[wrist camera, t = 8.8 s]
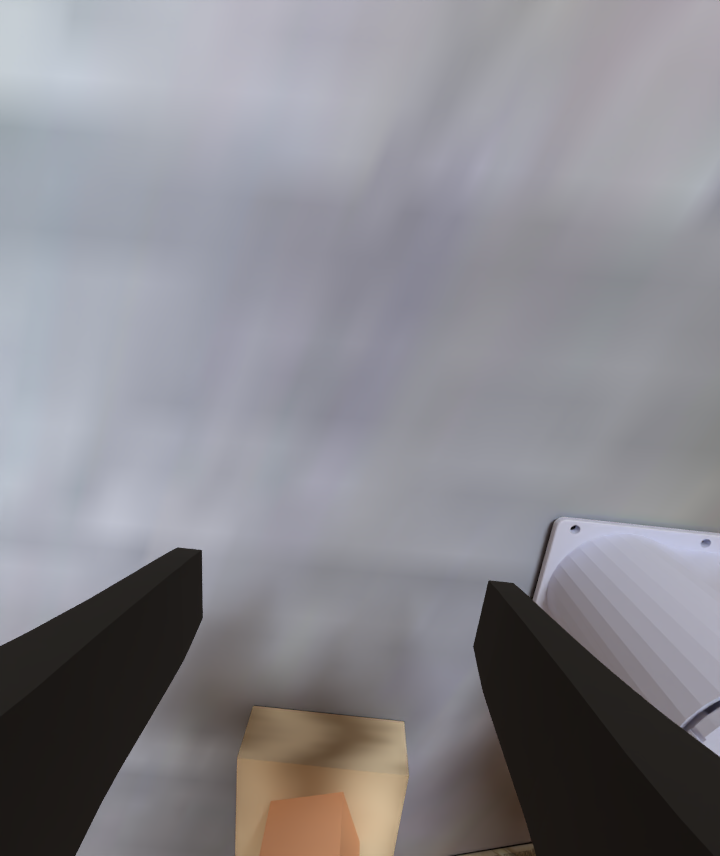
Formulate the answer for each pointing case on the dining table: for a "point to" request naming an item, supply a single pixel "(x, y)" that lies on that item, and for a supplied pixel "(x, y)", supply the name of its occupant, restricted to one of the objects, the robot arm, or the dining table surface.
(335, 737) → the riser
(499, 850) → the coffee box
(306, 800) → the block
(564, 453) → the dining table surface
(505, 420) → the dining table surface
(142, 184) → the dining table surface
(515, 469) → the dining table surface
